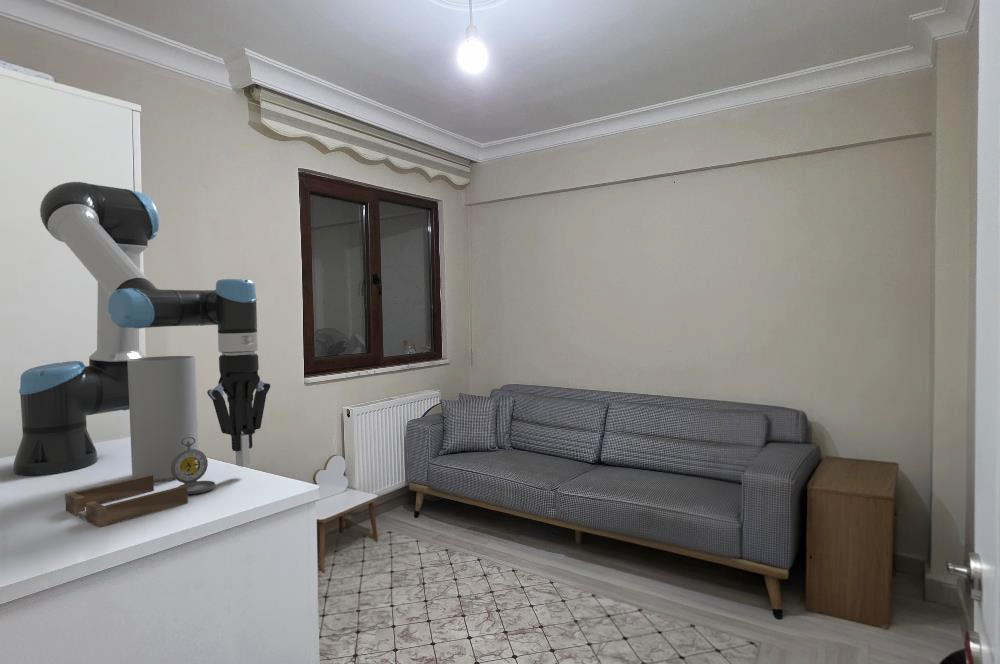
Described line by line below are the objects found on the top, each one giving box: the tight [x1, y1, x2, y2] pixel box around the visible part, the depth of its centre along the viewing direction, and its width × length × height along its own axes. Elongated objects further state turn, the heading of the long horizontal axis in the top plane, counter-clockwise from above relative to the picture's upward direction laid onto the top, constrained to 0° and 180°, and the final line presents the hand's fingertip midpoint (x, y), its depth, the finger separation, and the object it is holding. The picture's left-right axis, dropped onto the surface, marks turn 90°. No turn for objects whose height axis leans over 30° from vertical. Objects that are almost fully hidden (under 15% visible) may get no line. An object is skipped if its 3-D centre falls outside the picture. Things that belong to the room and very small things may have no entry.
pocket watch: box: [171, 437, 216, 495], centre depth 115 cm, size 8×8×10 cm
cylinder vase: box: [127, 355, 199, 482], centre depth 126 cm, size 12×12×25 cm
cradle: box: [64, 474, 189, 528], centre depth 105 cm, size 14×14×3 cm
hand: (242, 465), depth 123 cm, fingers closed
